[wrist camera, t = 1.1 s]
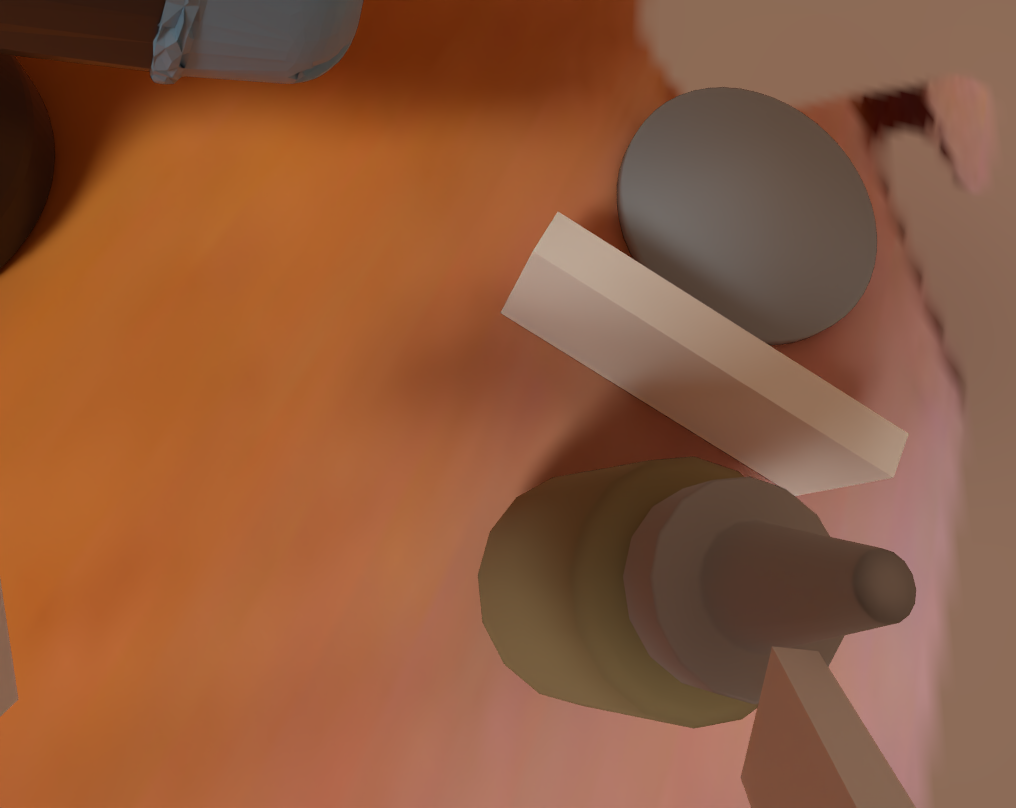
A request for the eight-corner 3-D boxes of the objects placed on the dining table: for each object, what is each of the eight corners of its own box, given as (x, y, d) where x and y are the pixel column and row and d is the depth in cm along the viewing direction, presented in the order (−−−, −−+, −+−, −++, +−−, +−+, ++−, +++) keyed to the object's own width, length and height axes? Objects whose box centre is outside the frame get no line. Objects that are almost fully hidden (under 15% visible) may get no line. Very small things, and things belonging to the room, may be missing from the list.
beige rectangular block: (500, 313, 30) (532, 251, 24) (521, 279, 31) (557, 211, 25) (795, 495, 31) (893, 477, 25) (809, 459, 31) (908, 433, 26)
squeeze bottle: (651, 497, 29) (1056, 379, 12) (648, 695, 27) (1135, 881, 10) (471, 476, 28) (649, 310, 11) (452, 684, 26) (638, 881, 9)
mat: (594, 95, 34) (599, 84, 33) (828, 99, 37) (837, 89, 37) (646, 355, 31) (653, 349, 30) (896, 335, 34) (908, 329, 34)
